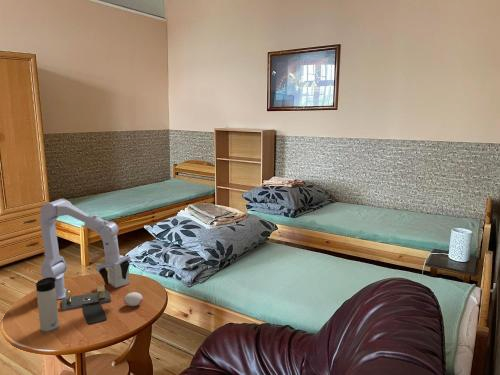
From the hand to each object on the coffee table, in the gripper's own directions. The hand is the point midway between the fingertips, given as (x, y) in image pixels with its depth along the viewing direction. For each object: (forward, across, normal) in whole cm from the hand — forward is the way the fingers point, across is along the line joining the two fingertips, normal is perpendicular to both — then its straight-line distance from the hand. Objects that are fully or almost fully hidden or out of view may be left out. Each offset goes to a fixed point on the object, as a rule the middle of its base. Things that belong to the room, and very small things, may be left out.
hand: (115, 281), depth 162 cm
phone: (+10, -11, -2) cm, 15 cm away
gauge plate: (+9, -10, +10) cm, 17 cm away
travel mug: (+9, -28, -2) cm, 29 cm away
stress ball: (+11, +4, -6) cm, 13 cm away
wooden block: (+8, -4, +8) cm, 12 cm away
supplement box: (+9, +8, +18) cm, 22 cm away
